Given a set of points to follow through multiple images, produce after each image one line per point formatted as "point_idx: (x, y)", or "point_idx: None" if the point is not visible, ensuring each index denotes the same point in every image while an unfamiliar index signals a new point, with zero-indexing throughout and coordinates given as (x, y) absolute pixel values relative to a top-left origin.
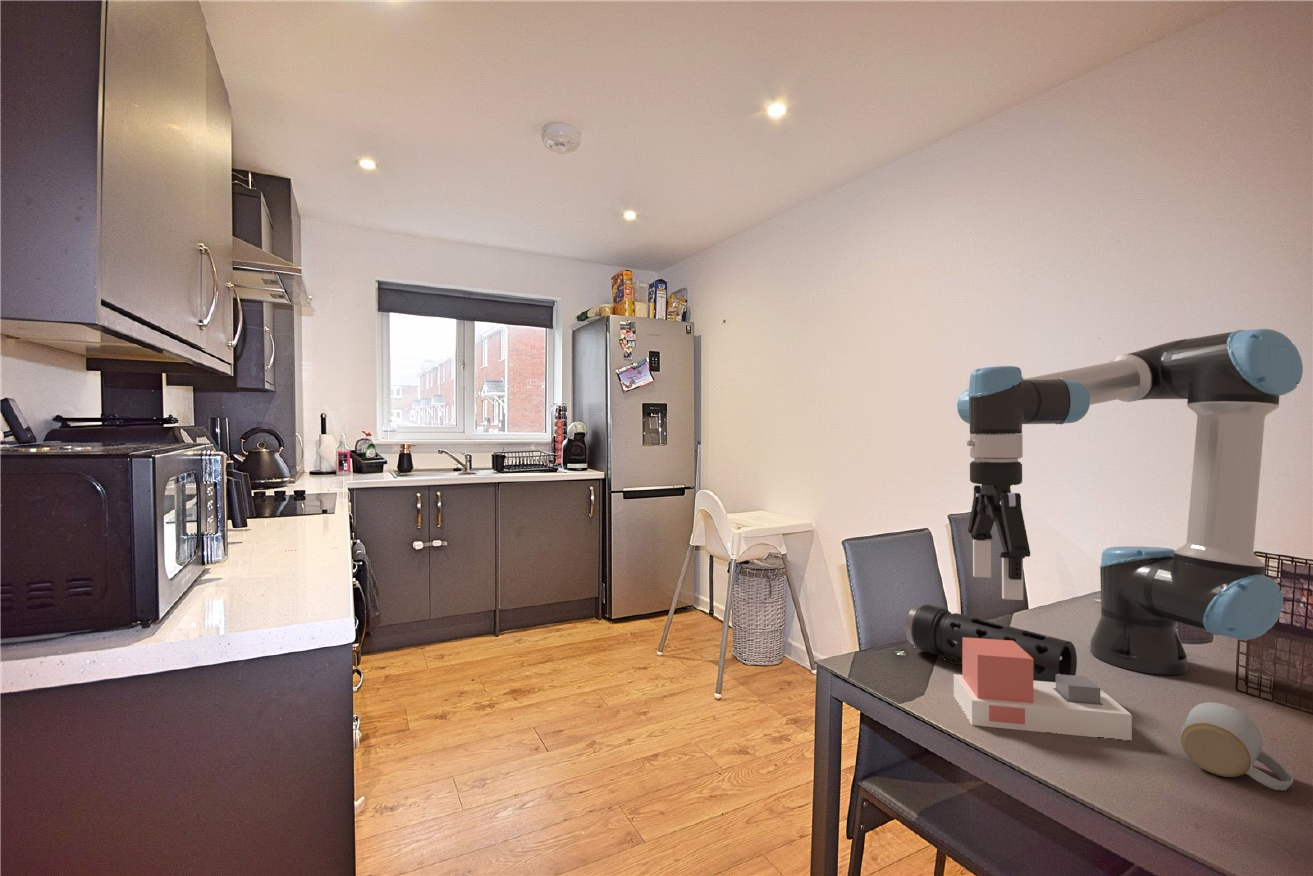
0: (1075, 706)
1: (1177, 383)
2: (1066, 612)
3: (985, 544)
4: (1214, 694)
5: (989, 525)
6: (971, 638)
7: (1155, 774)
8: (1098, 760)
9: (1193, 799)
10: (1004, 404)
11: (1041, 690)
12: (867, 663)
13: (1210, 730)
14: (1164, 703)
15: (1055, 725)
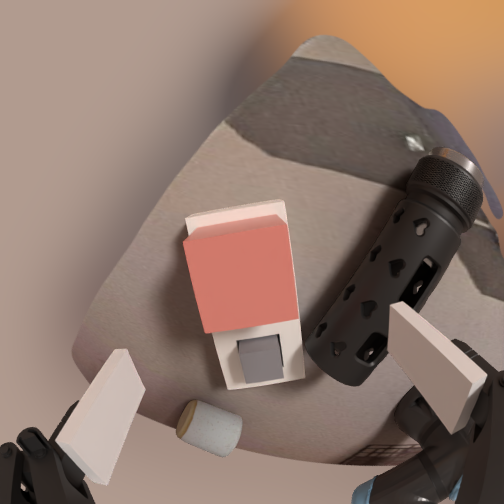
0: (225, 346)
1: None
2: None
3: (449, 410)
4: (359, 435)
5: (458, 502)
6: (284, 242)
7: (166, 367)
8: (168, 332)
9: (139, 375)
10: None
11: None
12: (357, 87)
13: (180, 429)
14: (333, 410)
15: None
